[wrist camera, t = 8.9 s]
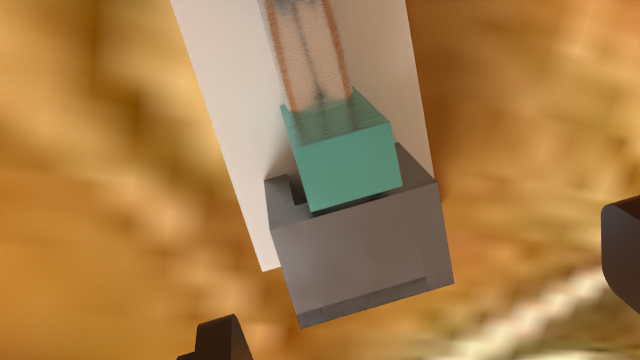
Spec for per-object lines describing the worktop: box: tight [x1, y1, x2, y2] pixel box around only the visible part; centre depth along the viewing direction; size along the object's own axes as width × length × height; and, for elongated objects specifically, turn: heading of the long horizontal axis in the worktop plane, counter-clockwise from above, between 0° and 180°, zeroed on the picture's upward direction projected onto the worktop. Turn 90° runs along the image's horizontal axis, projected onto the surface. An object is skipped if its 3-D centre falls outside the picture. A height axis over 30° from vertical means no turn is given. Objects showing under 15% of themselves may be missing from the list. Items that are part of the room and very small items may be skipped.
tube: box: [257, 0, 403, 212], centre depth 21 cm, size 14×4×7 cm, turn 14°
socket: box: [264, 142, 454, 329], centre depth 24 cm, size 5×7×6 cm
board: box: [170, 0, 435, 272], centre depth 22 cm, size 22×10×6 cm, turn 14°
